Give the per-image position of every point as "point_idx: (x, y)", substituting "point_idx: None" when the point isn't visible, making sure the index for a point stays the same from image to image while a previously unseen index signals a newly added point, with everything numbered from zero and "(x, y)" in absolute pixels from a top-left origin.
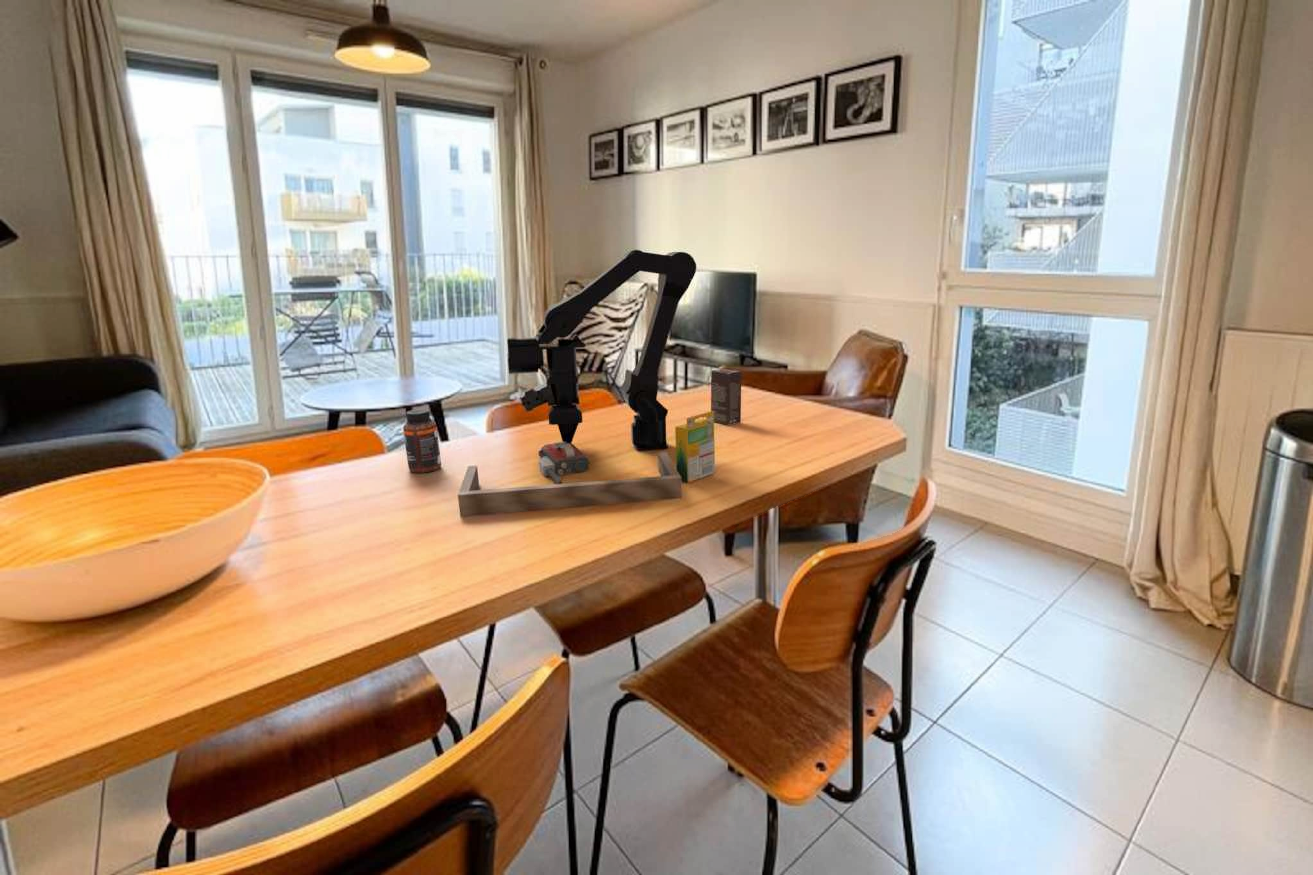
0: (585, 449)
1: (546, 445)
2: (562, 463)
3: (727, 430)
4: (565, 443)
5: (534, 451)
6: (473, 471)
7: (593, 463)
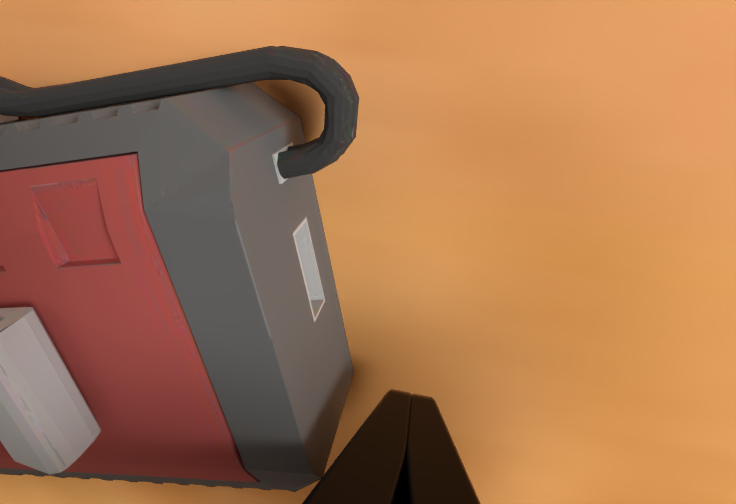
0: None
1: (182, 209)
2: None
3: None
4: (225, 446)
5: (700, 7)
6: None
7: None
